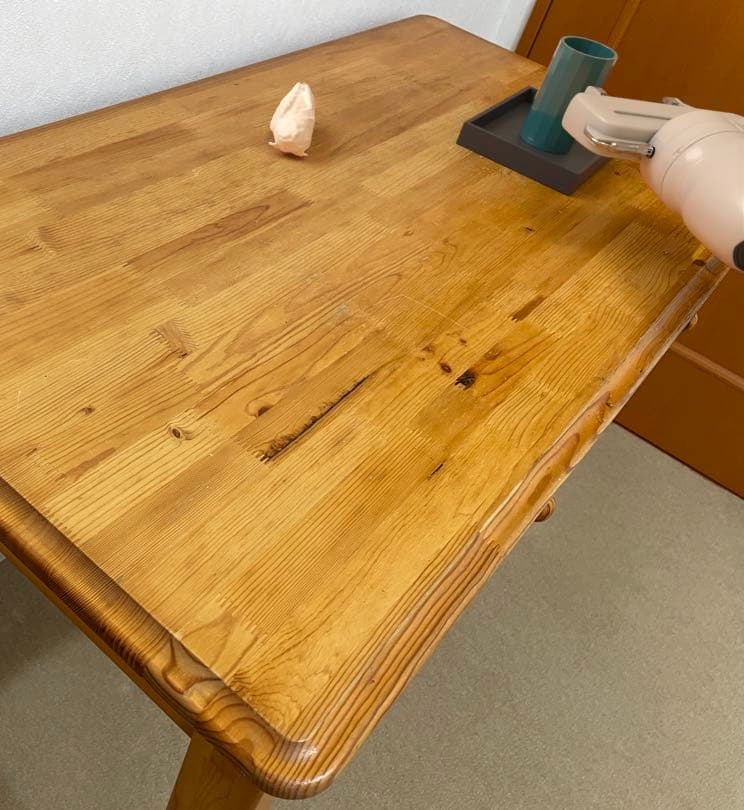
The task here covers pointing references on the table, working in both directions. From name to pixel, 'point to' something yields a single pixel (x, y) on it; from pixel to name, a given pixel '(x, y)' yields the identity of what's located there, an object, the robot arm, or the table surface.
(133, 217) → the table surface
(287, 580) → the table surface
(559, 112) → the cup
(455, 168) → the table surface
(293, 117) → the white crumpled piece
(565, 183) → the tray
